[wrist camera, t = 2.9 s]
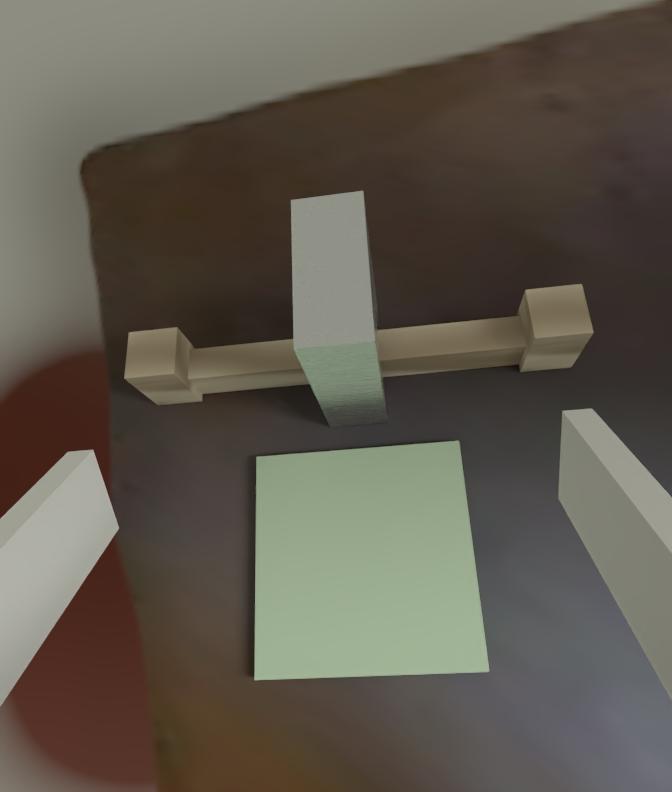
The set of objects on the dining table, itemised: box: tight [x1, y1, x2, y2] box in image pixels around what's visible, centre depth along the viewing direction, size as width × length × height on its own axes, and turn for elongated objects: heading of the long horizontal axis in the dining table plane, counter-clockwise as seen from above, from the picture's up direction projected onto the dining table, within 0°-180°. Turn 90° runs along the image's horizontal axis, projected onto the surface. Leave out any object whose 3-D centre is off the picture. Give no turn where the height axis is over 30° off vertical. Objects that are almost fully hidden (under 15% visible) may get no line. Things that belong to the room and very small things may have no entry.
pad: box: [254, 441, 489, 680], centre depth 31 cm, size 12×12×1 cm
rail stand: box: [124, 284, 594, 405], centre depth 33 cm, size 3×26×4 cm, turn 93°
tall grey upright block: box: [291, 191, 387, 427], centre depth 30 cm, size 8×4×11 cm, turn 3°
